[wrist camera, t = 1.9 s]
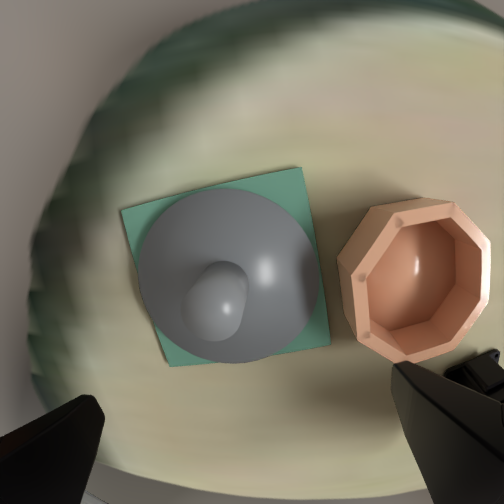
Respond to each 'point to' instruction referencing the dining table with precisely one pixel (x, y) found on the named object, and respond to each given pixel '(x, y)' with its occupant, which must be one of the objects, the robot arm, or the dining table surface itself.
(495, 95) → the dining table surface
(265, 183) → the mat
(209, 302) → the lid
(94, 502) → the skincare box
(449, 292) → the bowl
